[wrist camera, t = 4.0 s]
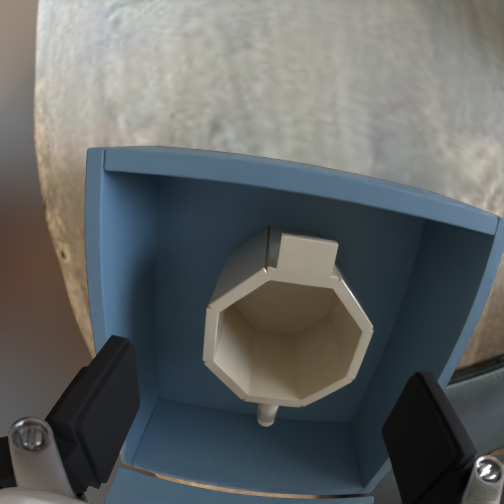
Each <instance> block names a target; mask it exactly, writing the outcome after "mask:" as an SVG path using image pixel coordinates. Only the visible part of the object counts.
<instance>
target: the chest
mask: <svg viewBox="0 0 504 504" xmlns="http://www.w3.org/2000/svg"><path fill="white" fill-rule="evenodd" d="M270 226H276V227H282V228H288V229H295V230H301V231H307V232H313V233H317V234H318V235H321V237H322V238H323V239H326V240H332V241H336V242H337V243H338V250H337V254H336V259H337V260H338V262H339V263H340V265H341V266H342V268H343V269H344V271H345V273H346V275H347V276H348V278H349V280H350V282H351V284H352V286H353V288H354V290H355V292H356V293H357V295H358V297H359V299H360V301H361V303H362V305H363V307H364V309H365V311H366V313H367V315H368V317H369V319H370V321H371V323H372V325H373V330H374V331H373V334H372V337H371V340H370V342H369V345H368V348H367V350H366V353H365V356H364V358H363V361H362V363H361V366H360V368H359V371H358V373H357V376H356V378H355V379H352V380H353V381H352V382H351V383H349V384H347V385H346V386H344V387H342V388H340V389H338V390H336V391H334V392H333V393H331V394H329V395H327V396H325V397H323V398H321V399H319V400H317V401H315V402H313V403H311V404H309V405H307V406H304V407H303V406H302V405H301V407H300V408H299V407H288V406H279V407H278V410H277V414H276V417H275V420H274V423H273V424H272V425H271V426H268V427H263V426H261V425H260V424H259V423H258V421H257V414H258V403H254V402H247V401H244V399H243V400H241V399H240V398H239V397H238V396H237V395H236V394H235V393H234V392H233V391H231V390H230V389H229V388H228V387H227V386H226V385H225V384H224V383H223V382H222V381H221V380H220V379H219V378H218V377H217V376H216V375H215V374H214V373H213V372H212V371H211V370H210V369H209V368H208V367H207V366H206V365H205V364H204V361H203V360H202V358H203V344H204V330H205V318H206V308H207V306H208V303H209V301H210V298H211V296H212V294H213V291H214V289H215V287H216V284H217V282H218V279H219V277H220V275H221V272H222V270H223V268H224V265H225V263H226V261H227V258H228V256H229V255H230V253H231V252H232V251H234V250H235V249H236V248H238V247H239V246H241V245H242V244H243V243H245V242H246V241H248V240H249V239H250V238H252V237H253V236H255V235H256V234H257V233H259V232H260V231H262V230H263V229H264V228H266V227H269V229H270ZM503 250H504V218H502V217H499V216H497V215H494V214H492V213H489V212H487V211H484V210H482V209H479V208H476V207H474V206H471V205H468V204H466V203H463V202H460V201H457V200H454V199H451V198H449V197H446V196H443V195H440V194H437V193H433V192H430V191H426V190H422V189H419V188H415V187H411V186H407V185H403V184H399V183H395V182H391V181H386V180H382V179H378V178H373V177H369V176H364V175H360V174H355V173H350V172H345V171H340V170H335V169H330V168H325V167H320V166H314V165H308V164H303V163H297V162H291V161H284V160H278V159H271V158H265V157H258V156H250V155H243V154H235V153H226V152H218V151H208V150H198V149H188V148H176V147H163V146H126V147H99V148H89V149H88V150H87V160H86V178H85V253H86V271H87V285H88V296H89V306H90V315H91V323H92V331H93V338H94V345H95V351H96V355H97V354H98V352H99V351H100V350H101V348H102V347H103V346H104V344H105V343H106V342H107V340H108V339H109V338H110V336H111V335H116V336H120V337H125V338H128V339H129V340H130V343H131V344H134V346H135V356H136V367H137V378H138V387H139V396H140V406H139V410H138V412H137V414H136V417H135V419H134V421H133V423H132V426H131V428H130V430H129V432H128V435H127V437H126V439H125V442H124V444H123V446H122V448H121V451H120V453H119V455H120V458H121V461H122V463H123V464H126V465H129V466H133V467H136V468H139V469H143V470H146V471H150V472H153V473H157V474H160V475H164V476H168V477H172V478H177V479H181V480H185V481H190V482H195V483H200V484H205V485H211V486H217V487H223V488H230V489H237V490H245V491H254V492H265V493H278V494H299V495H338V494H358V493H360V494H361V493H370V492H371V491H372V490H373V489H374V488H375V487H376V485H377V484H378V483H379V482H380V481H381V480H382V478H383V477H384V476H385V475H386V474H387V472H388V471H389V470H390V469H391V467H392V465H391V462H390V458H389V455H388V452H387V449H386V446H385V442H384V439H383V436H382V427H383V425H384V423H385V422H386V420H387V418H388V416H389V415H390V413H391V411H392V409H393V408H394V406H395V404H396V402H397V400H398V398H399V397H400V395H401V393H402V391H403V389H404V387H405V385H406V383H407V381H408V379H409V378H410V377H411V376H413V375H414V373H416V372H431V373H432V374H433V375H434V377H435V378H436V380H437V382H438V383H439V385H440V387H441V388H442V390H443V391H444V389H445V387H446V386H447V384H448V382H449V380H450V378H451V377H452V375H453V373H454V371H455V369H456V367H457V365H458V363H459V361H460V359H461V357H462V355H463V353H464V351H465V349H466V347H467V345H468V343H469V341H470V339H471V337H472V334H473V332H474V330H475V328H476V325H477V323H478V321H479V318H480V316H481V313H482V311H483V308H484V306H485V303H486V301H487V298H488V295H489V293H490V290H491V287H492V284H493V282H494V279H495V276H496V273H497V270H498V267H499V263H500V260H501V257H502V253H503Z"/></svg>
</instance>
